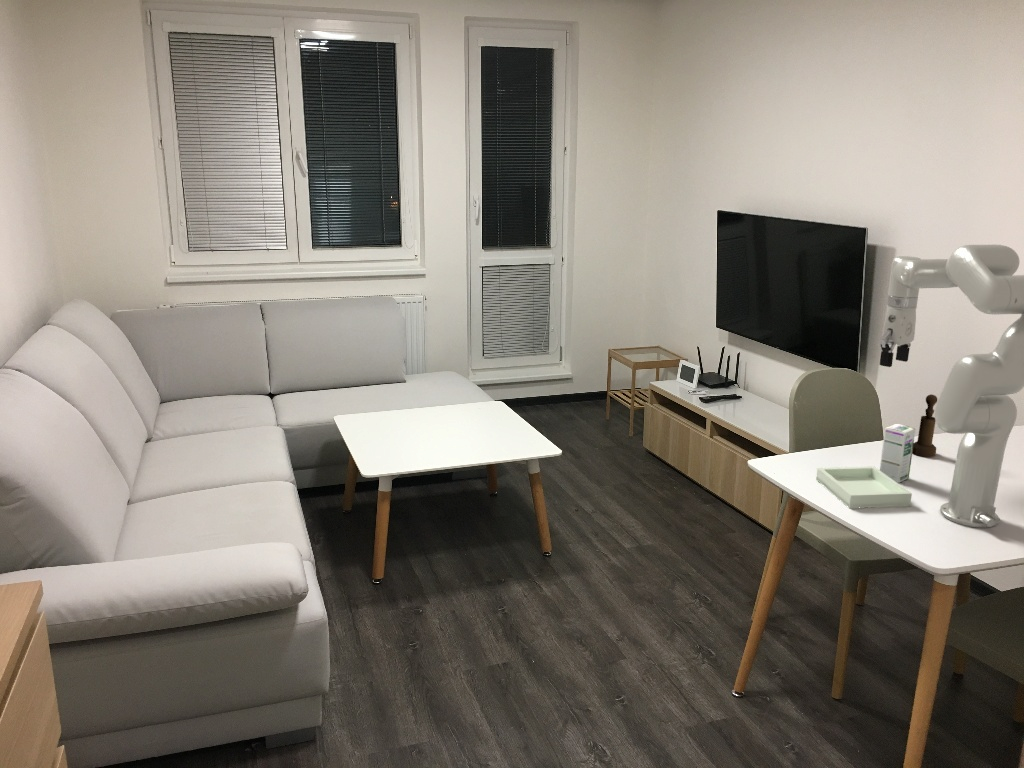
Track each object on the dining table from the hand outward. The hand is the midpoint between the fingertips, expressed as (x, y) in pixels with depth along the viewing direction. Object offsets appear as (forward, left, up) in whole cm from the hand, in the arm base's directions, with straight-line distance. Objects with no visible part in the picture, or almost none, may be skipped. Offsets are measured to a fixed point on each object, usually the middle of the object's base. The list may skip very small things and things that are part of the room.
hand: (893, 363), depth 228 cm
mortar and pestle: (+4, -16, -29) cm, 33 cm away
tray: (-22, +17, -29) cm, 40 cm away
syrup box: (-13, +3, -29) cm, 32 cm away
